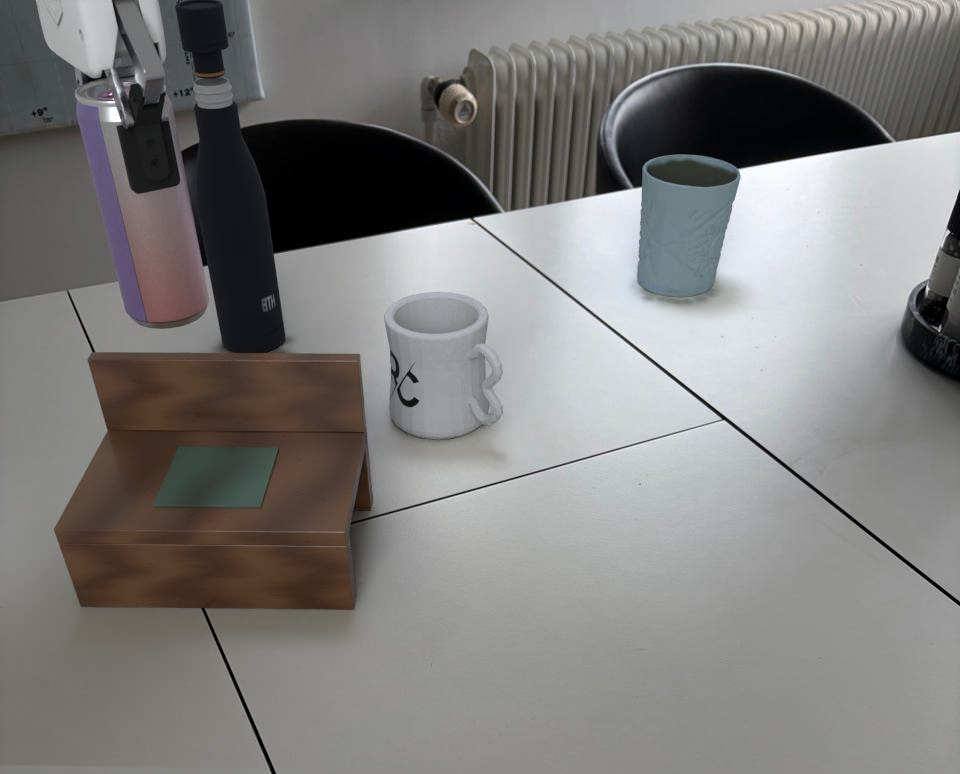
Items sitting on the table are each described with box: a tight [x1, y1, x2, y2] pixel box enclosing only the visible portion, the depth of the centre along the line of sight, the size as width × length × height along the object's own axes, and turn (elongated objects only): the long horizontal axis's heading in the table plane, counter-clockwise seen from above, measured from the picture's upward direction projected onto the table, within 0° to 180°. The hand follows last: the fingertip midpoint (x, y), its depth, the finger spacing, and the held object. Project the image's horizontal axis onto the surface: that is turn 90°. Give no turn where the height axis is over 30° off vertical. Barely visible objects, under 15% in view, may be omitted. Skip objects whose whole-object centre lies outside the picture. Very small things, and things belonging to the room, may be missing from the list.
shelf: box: [53, 351, 374, 611], centre depth 76 cm, size 20×14×13 cm
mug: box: [383, 291, 504, 440], centre depth 91 cm, size 12×9×10 cm
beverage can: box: [74, 78, 210, 330], centre depth 71 cm, size 6×6×15 cm
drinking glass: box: [636, 153, 742, 298], centre depth 113 cm, size 10×10×12 cm
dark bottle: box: [174, 0, 286, 353], centre depth 96 cm, size 6×6×30 cm
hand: (137, 171), depth 69 cm, fingers closed on beverage can, 6 cm apart
